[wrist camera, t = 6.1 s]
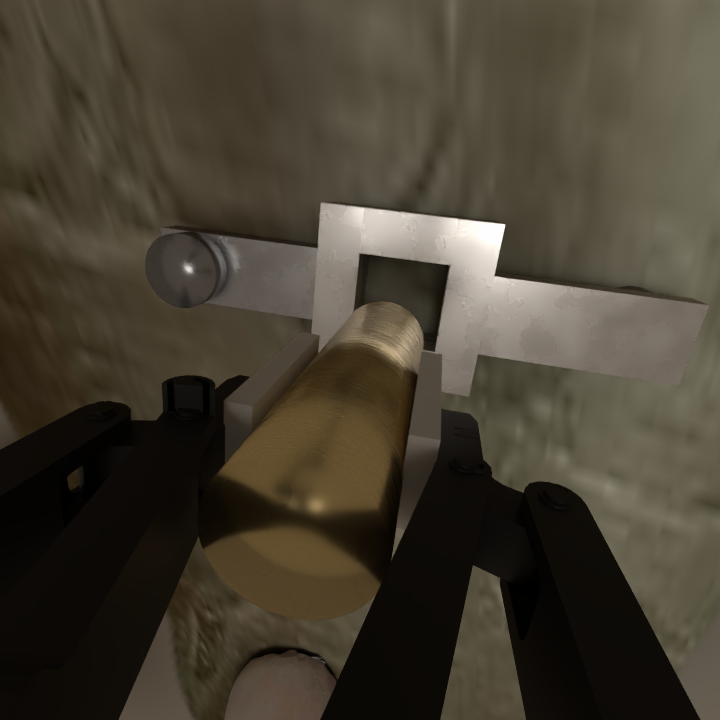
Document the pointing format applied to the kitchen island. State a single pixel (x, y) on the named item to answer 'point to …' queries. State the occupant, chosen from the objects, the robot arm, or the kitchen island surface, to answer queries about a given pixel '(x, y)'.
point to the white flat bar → (460, 297)
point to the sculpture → (281, 688)
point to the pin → (321, 476)
